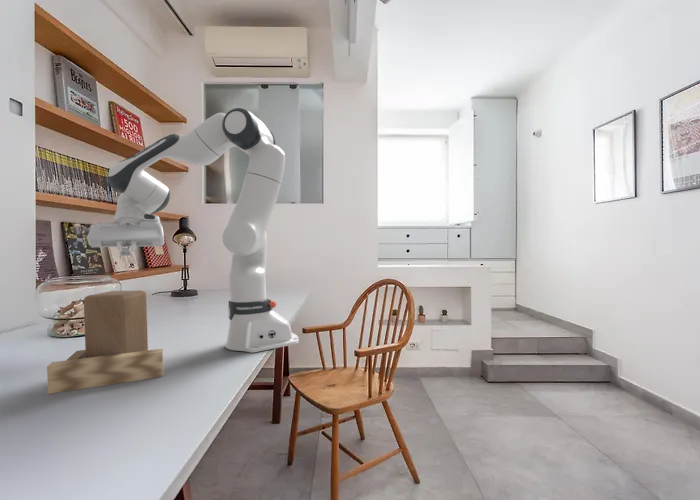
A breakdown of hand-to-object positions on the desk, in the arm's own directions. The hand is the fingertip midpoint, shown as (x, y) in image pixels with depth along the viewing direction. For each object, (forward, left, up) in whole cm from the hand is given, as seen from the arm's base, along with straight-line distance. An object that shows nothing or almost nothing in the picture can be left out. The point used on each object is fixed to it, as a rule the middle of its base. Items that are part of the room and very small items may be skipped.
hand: (125, 254), depth 105 cm
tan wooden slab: (0, +22, -29) cm, 37 cm away
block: (-1, +18, -30) cm, 35 cm away
